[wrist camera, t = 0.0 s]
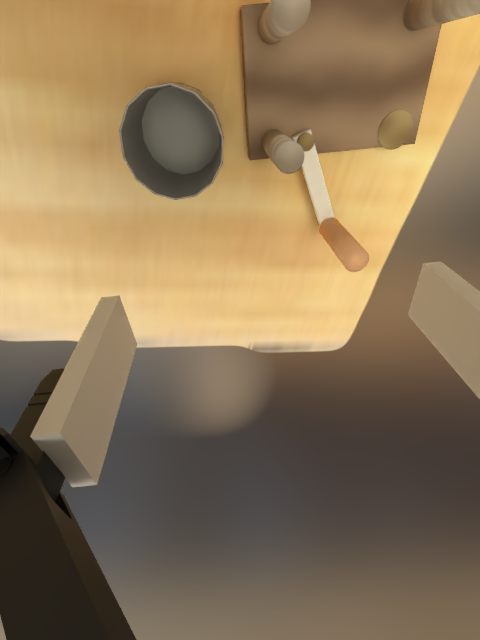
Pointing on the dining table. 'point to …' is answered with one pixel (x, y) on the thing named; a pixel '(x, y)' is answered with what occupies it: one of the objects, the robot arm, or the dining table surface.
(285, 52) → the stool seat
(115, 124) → the dining table surface
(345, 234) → the crank handle
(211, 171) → the cup
